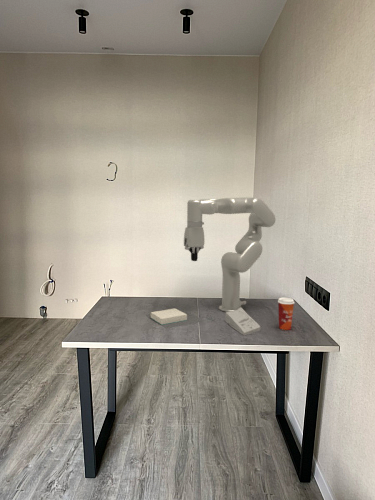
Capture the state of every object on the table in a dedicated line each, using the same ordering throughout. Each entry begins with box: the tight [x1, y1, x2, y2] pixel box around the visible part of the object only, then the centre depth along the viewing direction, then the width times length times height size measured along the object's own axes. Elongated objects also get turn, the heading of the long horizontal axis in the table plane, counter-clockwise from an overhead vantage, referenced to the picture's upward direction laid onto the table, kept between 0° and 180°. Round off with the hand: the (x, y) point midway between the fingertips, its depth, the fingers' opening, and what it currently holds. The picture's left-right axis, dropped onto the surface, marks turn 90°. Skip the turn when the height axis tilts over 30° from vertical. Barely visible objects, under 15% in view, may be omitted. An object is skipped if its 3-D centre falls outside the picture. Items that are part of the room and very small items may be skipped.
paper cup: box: [277, 297, 295, 331], centre depth 177 cm, size 8×8×14 cm
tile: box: [150, 307, 187, 326], centre depth 187 cm, size 3×12×14 cm
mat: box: [146, 308, 206, 329], centre depth 189 cm, size 22×22×1 cm
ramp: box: [224, 307, 262, 337], centre depth 181 cm, size 28×16×5 cm, turn 178°
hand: (194, 260), depth 191 cm, fingers closed
